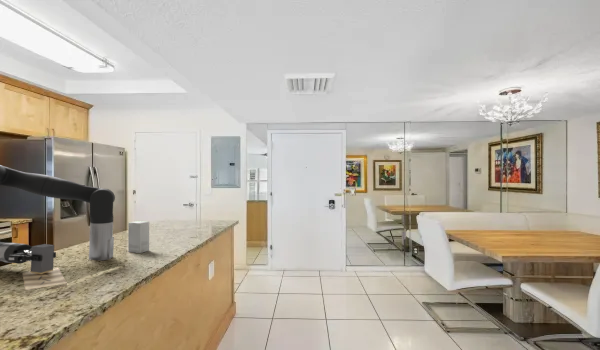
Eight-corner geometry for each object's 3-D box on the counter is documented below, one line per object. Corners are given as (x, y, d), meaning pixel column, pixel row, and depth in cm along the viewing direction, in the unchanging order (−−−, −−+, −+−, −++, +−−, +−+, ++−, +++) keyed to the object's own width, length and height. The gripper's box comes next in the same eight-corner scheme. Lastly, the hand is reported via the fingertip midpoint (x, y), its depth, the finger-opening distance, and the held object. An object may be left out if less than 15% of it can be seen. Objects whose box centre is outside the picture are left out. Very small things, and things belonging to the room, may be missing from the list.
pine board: (22, 275, 118) (22, 272, 118) (58, 270, 125) (58, 267, 125) (25, 293, 100) (25, 290, 100) (66, 286, 108) (66, 282, 108)
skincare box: (149, 250, 162) (150, 221, 162) (139, 253, 156) (140, 223, 156) (137, 249, 165) (138, 220, 165) (126, 251, 158) (128, 222, 159)
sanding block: (30, 272, 115) (31, 246, 116) (42, 269, 120) (44, 244, 120) (40, 274, 114) (42, 247, 115) (53, 270, 119) (54, 245, 119)
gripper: (-8, 247, 113) (28, 251, 110) (33, 239, 127) (66, 243, 124) (-8, 267, 113) (27, 271, 110) (33, 257, 127) (66, 261, 124)
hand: (48, 256), depth 117 cm, fingers closed on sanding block, 4 cm apart
